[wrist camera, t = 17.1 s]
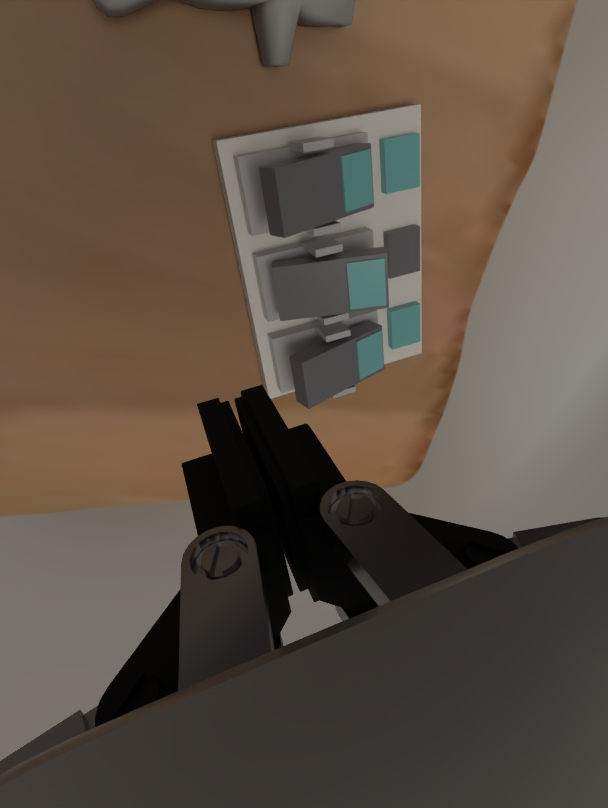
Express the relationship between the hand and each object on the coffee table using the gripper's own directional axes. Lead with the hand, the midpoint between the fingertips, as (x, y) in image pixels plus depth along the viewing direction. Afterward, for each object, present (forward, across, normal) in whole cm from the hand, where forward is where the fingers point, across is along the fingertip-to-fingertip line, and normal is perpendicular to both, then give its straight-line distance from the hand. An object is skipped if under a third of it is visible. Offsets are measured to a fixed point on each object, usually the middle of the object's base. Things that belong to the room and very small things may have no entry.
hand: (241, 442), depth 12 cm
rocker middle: (+22, -11, +5) cm, 25 cm away
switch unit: (+27, -13, +5) cm, 30 cm away
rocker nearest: (+22, -11, -2) cm, 25 cm away
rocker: (+22, -11, +12) cm, 27 cm away
